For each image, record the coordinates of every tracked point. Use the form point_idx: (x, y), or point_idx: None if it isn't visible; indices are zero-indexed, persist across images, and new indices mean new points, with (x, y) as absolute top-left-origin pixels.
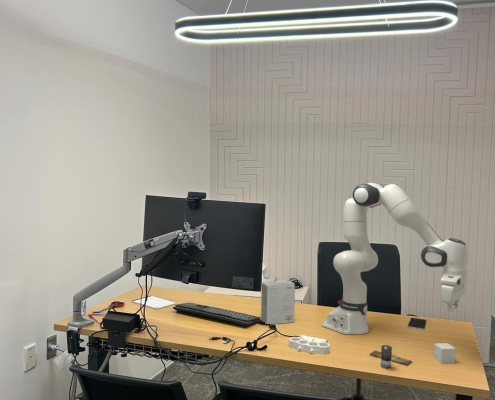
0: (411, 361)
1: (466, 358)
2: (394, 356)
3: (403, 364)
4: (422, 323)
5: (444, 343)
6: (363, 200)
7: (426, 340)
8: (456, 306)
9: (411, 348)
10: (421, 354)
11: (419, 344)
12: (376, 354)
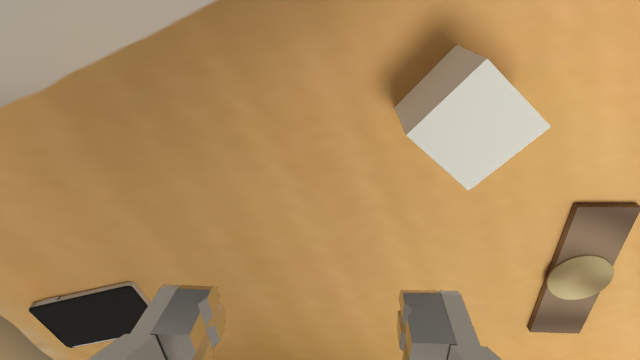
0: (581, 206)
1: (340, 13)
2: (568, 269)
3: (631, 218)
4: (82, 305)
5: (426, 146)
6: None
7: (248, 239)
8: (201, 312)
9: (395, 252)
10: (442, 203)
11: (321, 245)
12: (574, 317)
